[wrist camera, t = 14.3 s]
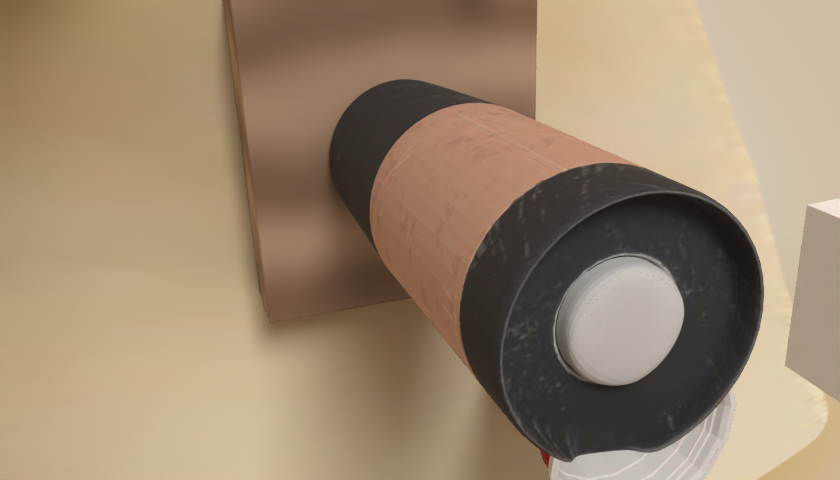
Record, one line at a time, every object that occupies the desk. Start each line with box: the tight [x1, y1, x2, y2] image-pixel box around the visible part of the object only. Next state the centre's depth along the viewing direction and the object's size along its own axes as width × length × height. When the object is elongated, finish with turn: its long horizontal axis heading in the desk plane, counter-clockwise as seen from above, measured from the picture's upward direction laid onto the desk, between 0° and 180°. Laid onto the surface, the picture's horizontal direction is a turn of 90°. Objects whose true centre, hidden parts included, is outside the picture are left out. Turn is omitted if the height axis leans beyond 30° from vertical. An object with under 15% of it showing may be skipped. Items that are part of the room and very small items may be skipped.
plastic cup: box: [540, 385, 736, 480], centre depth 42 cm, size 11×11×12 cm
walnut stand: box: [223, 0, 537, 322], centre depth 38 cm, size 15×14×4 cm
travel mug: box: [329, 79, 764, 462], centre depth 28 cm, size 8×8×20 cm
